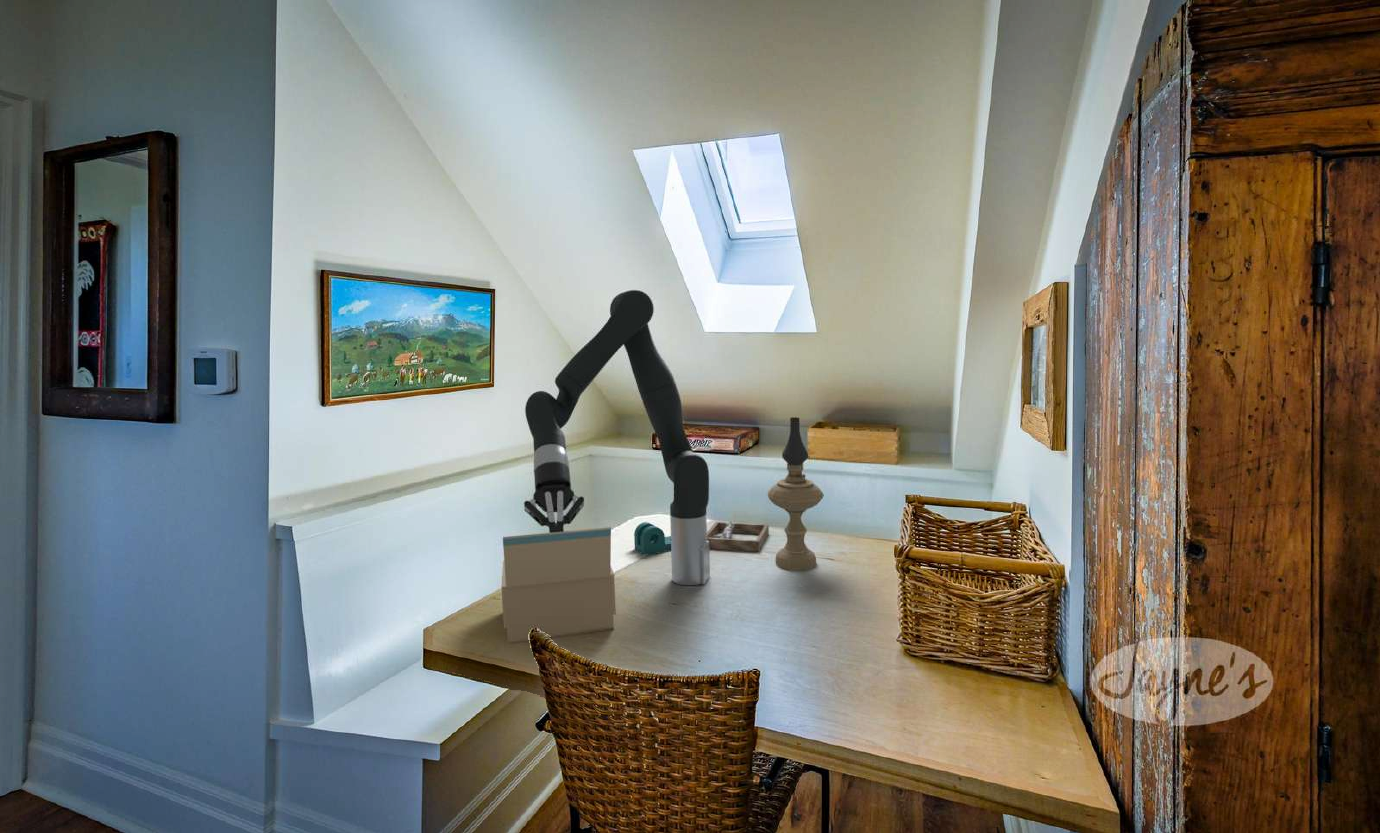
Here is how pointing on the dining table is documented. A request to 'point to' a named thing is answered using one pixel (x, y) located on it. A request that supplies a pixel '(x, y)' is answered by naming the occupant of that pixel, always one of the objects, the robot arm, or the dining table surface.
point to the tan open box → (558, 607)
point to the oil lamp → (795, 503)
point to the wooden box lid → (557, 556)
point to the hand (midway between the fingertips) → (557, 541)
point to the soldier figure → (726, 531)
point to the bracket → (650, 539)
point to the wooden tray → (738, 543)
